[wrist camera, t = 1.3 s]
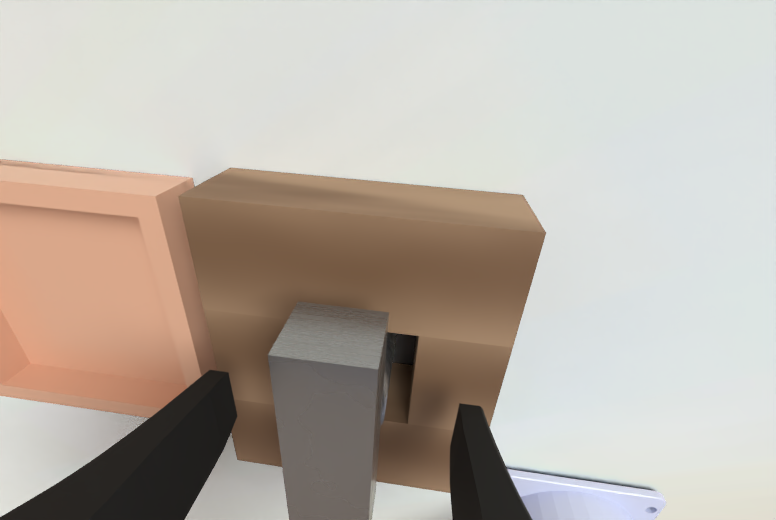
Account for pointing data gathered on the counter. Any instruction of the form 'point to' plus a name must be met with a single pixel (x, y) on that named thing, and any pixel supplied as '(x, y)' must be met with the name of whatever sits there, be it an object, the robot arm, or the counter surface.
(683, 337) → the counter surface
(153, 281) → the terracotta dish
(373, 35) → the counter surface
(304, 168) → the counter surface
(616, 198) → the counter surface
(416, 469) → the plate
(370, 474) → the T-key
